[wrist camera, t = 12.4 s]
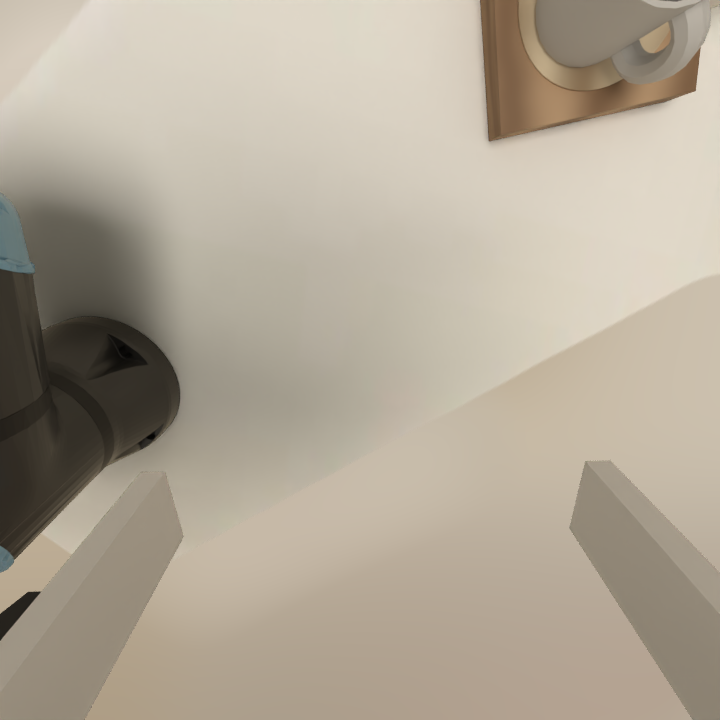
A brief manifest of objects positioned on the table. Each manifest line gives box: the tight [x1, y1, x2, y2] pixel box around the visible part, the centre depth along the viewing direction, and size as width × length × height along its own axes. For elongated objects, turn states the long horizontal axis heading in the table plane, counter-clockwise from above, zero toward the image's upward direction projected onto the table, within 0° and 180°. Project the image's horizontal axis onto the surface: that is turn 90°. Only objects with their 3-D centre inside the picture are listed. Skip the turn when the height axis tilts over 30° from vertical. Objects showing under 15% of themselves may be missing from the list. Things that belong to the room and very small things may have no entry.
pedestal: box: [481, 0, 701, 141], centre depth 26 cm, size 14×14×3 cm
